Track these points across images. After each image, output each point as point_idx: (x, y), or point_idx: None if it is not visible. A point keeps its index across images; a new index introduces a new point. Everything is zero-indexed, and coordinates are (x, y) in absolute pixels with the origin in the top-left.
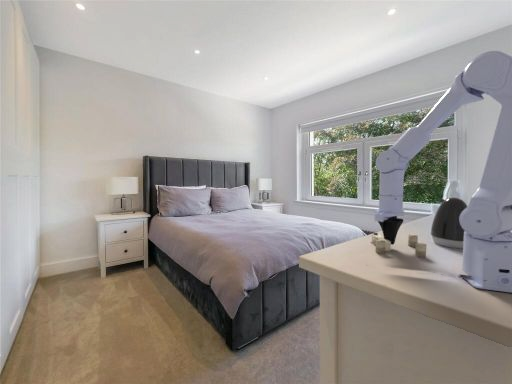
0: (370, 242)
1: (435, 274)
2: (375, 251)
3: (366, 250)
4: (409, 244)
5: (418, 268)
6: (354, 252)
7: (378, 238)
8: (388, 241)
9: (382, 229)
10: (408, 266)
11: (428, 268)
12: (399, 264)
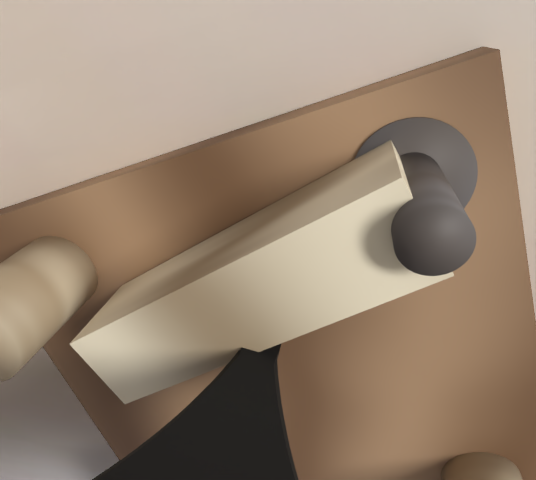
0: (399, 120)
1: (43, 473)
2: (39, 238)
3: (195, 109)
4: (458, 475)
5: (62, 430)
6: (27, 16)
7: (178, 294)
8: (121, 386)
9: (153, 438)
10: (51, 395)
11: (103, 464)
12: (43, 359)
